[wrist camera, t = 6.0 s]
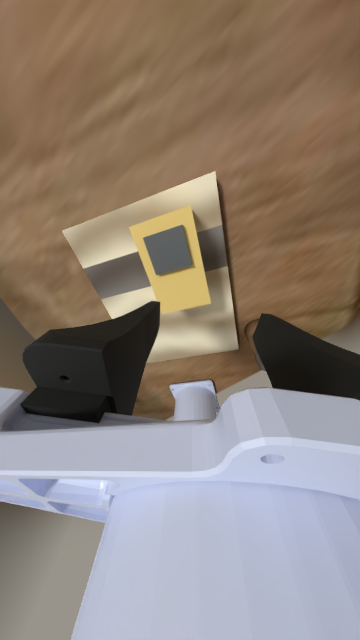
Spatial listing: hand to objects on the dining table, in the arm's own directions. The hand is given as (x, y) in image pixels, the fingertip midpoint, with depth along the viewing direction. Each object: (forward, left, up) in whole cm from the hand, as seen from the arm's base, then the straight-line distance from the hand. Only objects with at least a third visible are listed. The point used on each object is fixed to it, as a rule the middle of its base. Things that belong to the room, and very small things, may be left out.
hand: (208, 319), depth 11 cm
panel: (-1, +5, -9) cm, 11 cm away
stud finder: (+3, +2, -8) cm, 9 cm away
